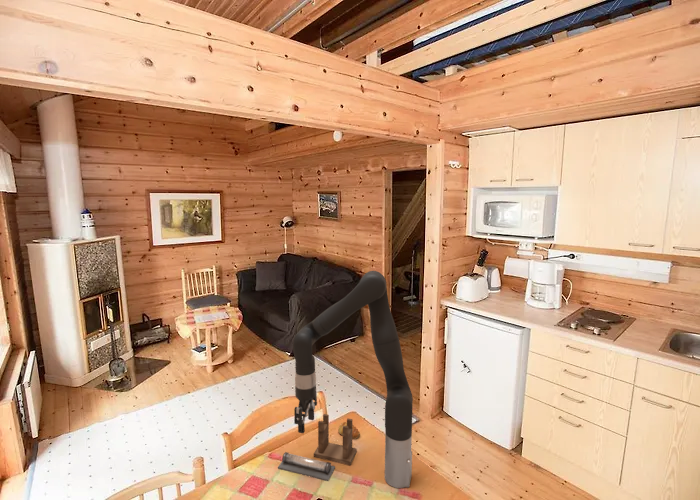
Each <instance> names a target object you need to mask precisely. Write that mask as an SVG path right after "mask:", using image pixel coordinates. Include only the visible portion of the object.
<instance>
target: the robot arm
mask: <svg viewBox="0 0 700 500" xmlns="http://www.w3.org/2000/svg"><path fill="white" fill-rule="evenodd" d="M387 286H388V285H387V280H386V278H385V276H384V275H383V274H382V273H381V272H379V271H377V270H369V271H367V272H366V273H364V274H363V275H362V276H361V278H360V279H359V282H358V283H357V285H356V286H355V287H354V288H353V289H352V290H351V291H350V292H349V293H347V295H345V296H344V297H343V298H342V299H340V300H338V301H337V302H335V303H334V304H332V305H330V306H329V307H328V308H327V309H325V310H324V311H322V312H321V313H320V314H319V315H318V316H316V317H315V318H314V319H313V320H312V321H310V322H309V323H307V324H306V325H304V326H303V327H301V329H299V330H298V331H297V333H296V334H295V335H294V336H293V338H292V351H293V355H294V360H295V376H294V385H295V387H294V388H295V391H294V392H295V393H294V395H295V398H296V399H297V400H298V406H295V407H294V409H293V410H294V413H293V414H294V420H293V421H294V424H295V425H297V432H298V433H299V434H304V433H305V428H306V427H305V421H306V418H307V419H308V420H310V421H314V420H315V410H316V406H317V405H318V397H317V396H318V395H317V393H318V392H317V375H316V358H315V356H314V355H313V345H314V344H315V343H316V342H317V341H318V340H320V339H321V338H322V337H323V336H326V335H329V334H330V333H331V332H333V330H335V329H336V328H338V326H339V325H340V324H342V323H344V321H345V320H347V319H348V318H349V317H351V316H352V315H353V314H355V313H356V312H357V311H359V310H360V309H362V308H364V307H365V306H368V310H369V311H368V312H369V318H370V319H369V323H370V335H371V341H372V344H373V349H374V355H375V356H376V357H375V358H376V360H377V362H378V364H379V365H380V367H381V369H382V371H383V375H384V380H385V384H386V397H385V403H384V427H385V428H384V429H385V437H384V438H385V439H384V440H385V441H384V443H385V445H384V480H385V482H386V483H387V485H389V486H391V487H392V488H394V489H395V488H396V489H397V488H398V489H403V488H410V485H411V479H412V473H413V471H412V470H413V469H412V468H413V466H412V465H413V451H412V439H413V435H412V434H413V433H412V432H413V403H414V401H413V400H414V398H413V393H412V390H411V387H410V385H409V382H408V379H407V376H406V373H405V368H404V359H403V354H402V353H403V352H402V349H401V348H402V347H401V342H400V338H399V334H398V331H397V327H396V324H395V320H394V317H393V314H392V311H391V308H390V302H389V296H388V287H387Z"/></svg>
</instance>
